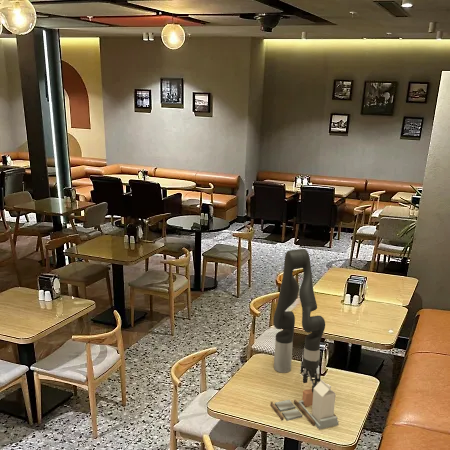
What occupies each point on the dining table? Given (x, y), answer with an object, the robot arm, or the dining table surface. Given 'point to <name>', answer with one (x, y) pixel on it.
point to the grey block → (323, 423)
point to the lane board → (292, 413)
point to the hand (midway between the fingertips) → (309, 387)
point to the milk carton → (323, 401)
